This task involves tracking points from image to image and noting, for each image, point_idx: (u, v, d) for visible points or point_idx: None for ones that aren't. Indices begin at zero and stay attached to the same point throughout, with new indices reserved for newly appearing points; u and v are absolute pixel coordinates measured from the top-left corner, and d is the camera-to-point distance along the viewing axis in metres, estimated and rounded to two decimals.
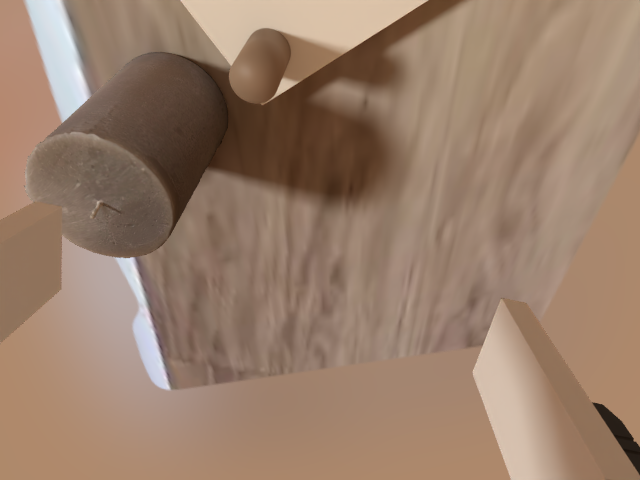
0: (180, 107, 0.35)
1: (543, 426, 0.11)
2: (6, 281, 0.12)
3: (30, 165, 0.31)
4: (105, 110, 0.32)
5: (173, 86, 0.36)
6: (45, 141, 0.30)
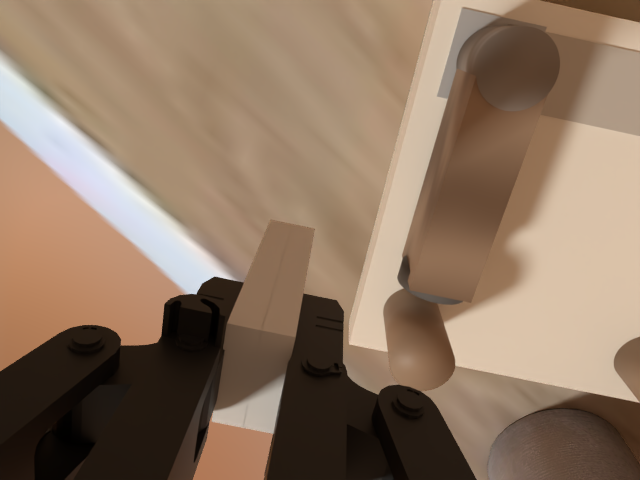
0: None
1: None
2: None
3: None
4: None
5: (578, 461, 0.31)
6: None
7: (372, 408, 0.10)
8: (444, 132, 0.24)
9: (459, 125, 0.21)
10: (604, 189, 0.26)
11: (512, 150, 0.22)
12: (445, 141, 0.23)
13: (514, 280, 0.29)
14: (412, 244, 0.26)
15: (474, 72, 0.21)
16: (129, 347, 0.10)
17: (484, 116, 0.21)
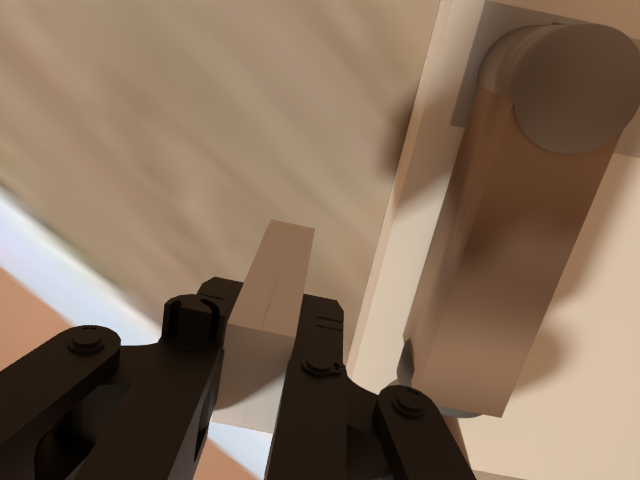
0: None
1: None
2: None
3: None
4: None
5: None
6: None
7: (372, 408, 0.10)
8: (461, 177, 0.17)
9: (486, 174, 0.14)
10: None
11: (566, 210, 0.14)
12: (463, 192, 0.16)
13: (554, 365, 0.21)
14: (417, 328, 0.19)
15: (510, 95, 0.14)
16: (129, 347, 0.10)
17: (525, 162, 0.14)
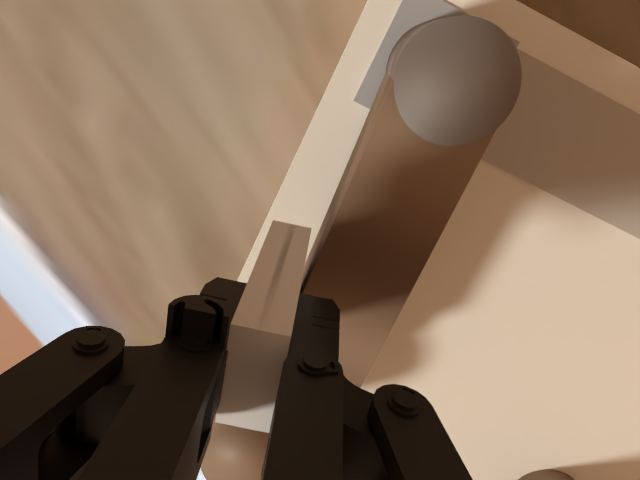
0: None
1: None
2: None
3: None
4: None
5: None
6: None
7: (368, 407, 0.10)
8: (352, 158, 0.17)
9: (362, 152, 0.14)
10: (546, 279, 0.20)
11: (434, 203, 0.14)
12: (349, 171, 0.16)
13: (409, 367, 0.22)
14: None
15: (394, 76, 0.14)
16: (133, 348, 0.10)
17: (399, 146, 0.14)
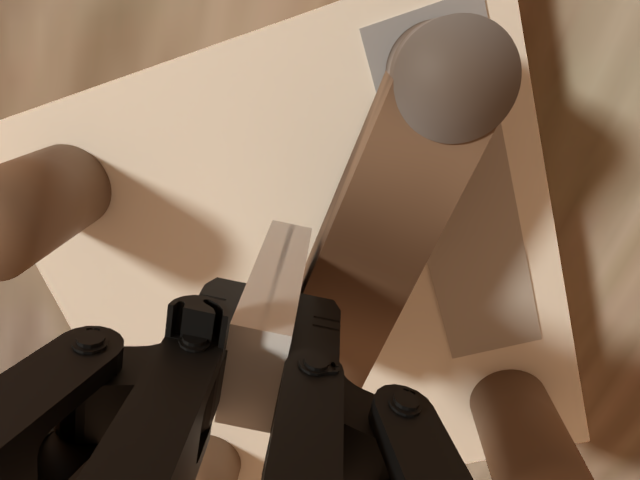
0: None
1: None
2: None
3: None
4: None
5: None
6: None
7: (368, 407, 0.10)
8: (352, 157, 0.17)
9: (362, 150, 0.14)
10: None
11: (435, 201, 0.14)
12: (349, 170, 0.16)
13: (199, 280, 0.21)
14: None
15: (393, 74, 0.14)
16: (132, 348, 0.10)
17: (399, 144, 0.14)
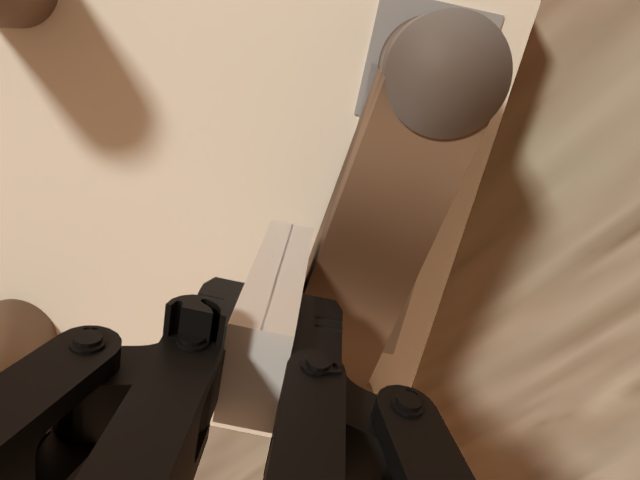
0: None
1: None
2: None
3: None
4: None
5: None
6: None
7: (371, 408, 0.10)
8: (348, 156, 0.17)
9: (357, 149, 0.14)
10: (253, 244, 0.20)
11: (431, 196, 0.14)
12: (345, 169, 0.16)
13: (104, 146, 0.19)
14: None
15: (385, 72, 0.14)
16: (130, 347, 0.10)
17: (393, 141, 0.14)
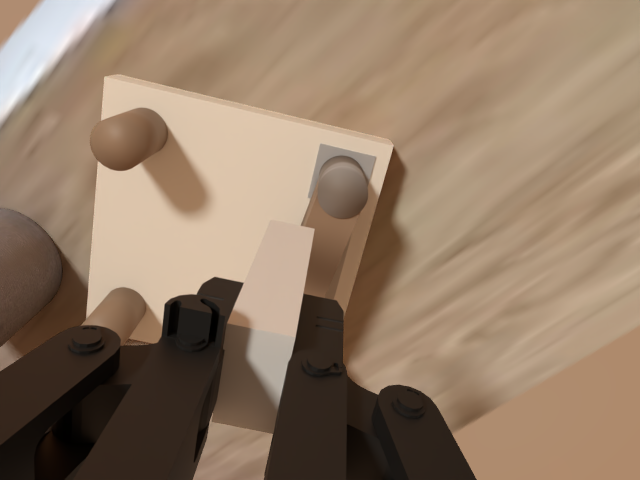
0: (18, 301, 0.36)
1: None
2: None
3: None
4: None
5: (27, 275, 0.37)
6: None
7: (372, 408, 0.10)
8: (304, 219, 0.36)
9: (306, 221, 0.33)
10: None
11: (338, 241, 0.33)
12: None
13: (182, 209, 0.37)
14: None
15: (318, 190, 0.33)
16: (129, 347, 0.10)
17: (321, 218, 0.33)
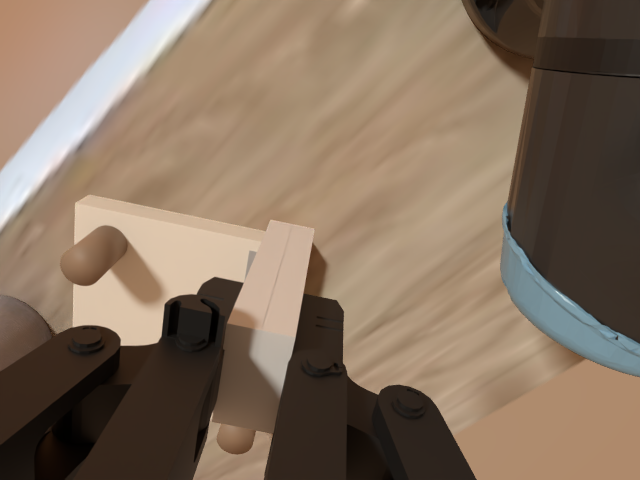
0: None
1: None
2: None
3: None
4: None
5: (21, 355, 0.46)
6: None
7: (372, 408, 0.10)
8: None
9: None
10: None
11: None
12: None
13: (143, 301, 0.46)
14: None
15: None
16: (129, 347, 0.10)
17: None
